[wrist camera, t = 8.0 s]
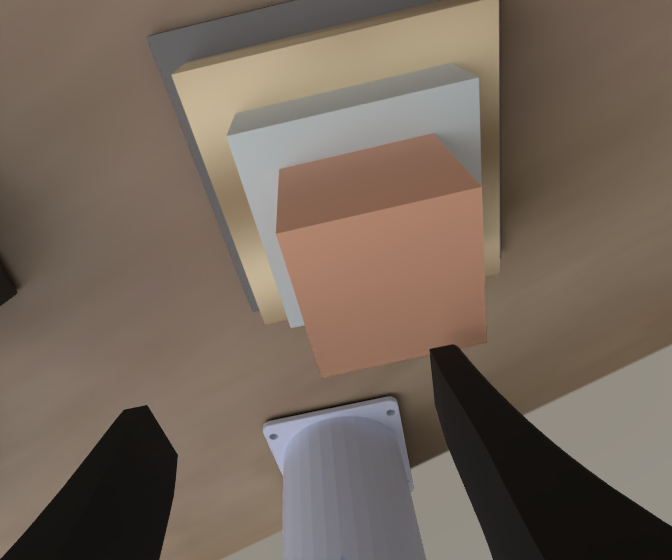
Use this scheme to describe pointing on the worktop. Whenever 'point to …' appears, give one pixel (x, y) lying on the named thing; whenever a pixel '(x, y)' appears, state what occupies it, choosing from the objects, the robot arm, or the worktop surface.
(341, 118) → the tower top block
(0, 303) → the phone stand
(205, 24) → the rubber mat
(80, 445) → the worktop surface
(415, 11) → the oak slab
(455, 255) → the terracotta block
